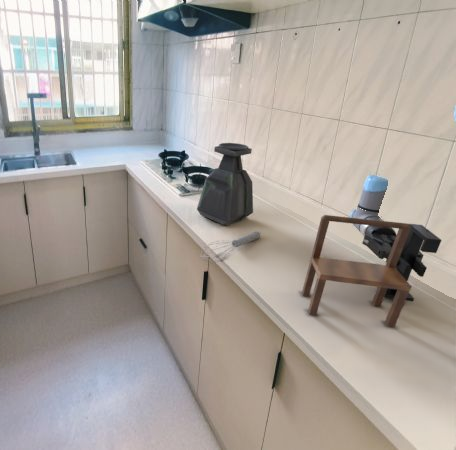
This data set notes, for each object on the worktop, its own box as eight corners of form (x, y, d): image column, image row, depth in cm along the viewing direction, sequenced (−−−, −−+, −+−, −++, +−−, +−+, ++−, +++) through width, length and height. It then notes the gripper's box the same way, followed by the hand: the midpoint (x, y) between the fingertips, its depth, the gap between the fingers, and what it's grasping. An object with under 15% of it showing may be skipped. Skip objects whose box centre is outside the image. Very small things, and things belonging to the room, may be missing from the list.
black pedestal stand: (374, 283, 97) (397, 219, 89) (401, 287, 96) (426, 222, 88) (390, 306, 87) (418, 237, 79) (420, 311, 86) (451, 241, 78)
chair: (378, 303, 91) (408, 222, 81) (394, 327, 82) (430, 240, 72) (301, 292, 94) (322, 213, 84) (309, 314, 85) (333, 229, 75)
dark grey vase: (226, 229, 131) (236, 152, 118) (195, 216, 142) (201, 144, 130) (252, 218, 142) (265, 147, 129) (222, 207, 153) (230, 140, 141)
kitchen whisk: (267, 238, 124) (270, 223, 122) (211, 270, 103) (213, 252, 100) (252, 233, 128) (255, 218, 126) (195, 263, 107) (197, 245, 104)
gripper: (401, 246, 106) (445, 288, 85) (347, 240, 109) (375, 279, 87) (410, 224, 103) (457, 262, 82) (353, 218, 106) (384, 253, 84)
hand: (414, 270), depth 85 cm, fingers closed on black pedestal stand, 3 cm apart
